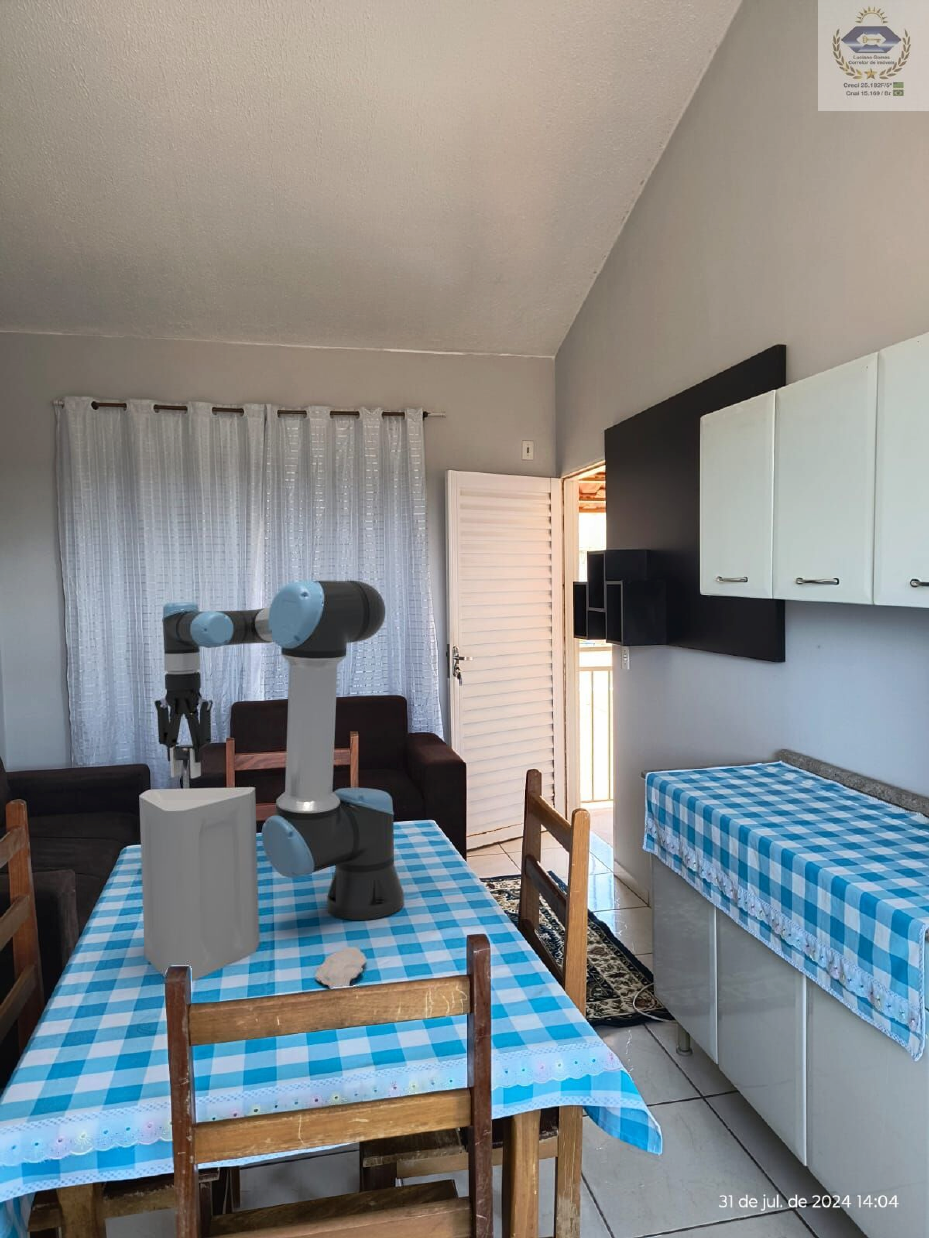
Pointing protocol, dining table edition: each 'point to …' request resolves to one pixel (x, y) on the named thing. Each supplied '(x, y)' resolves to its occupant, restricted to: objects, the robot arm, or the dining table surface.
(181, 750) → the plunger
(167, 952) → the grey triangular prism
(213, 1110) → the dining table surface
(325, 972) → the stone tool
